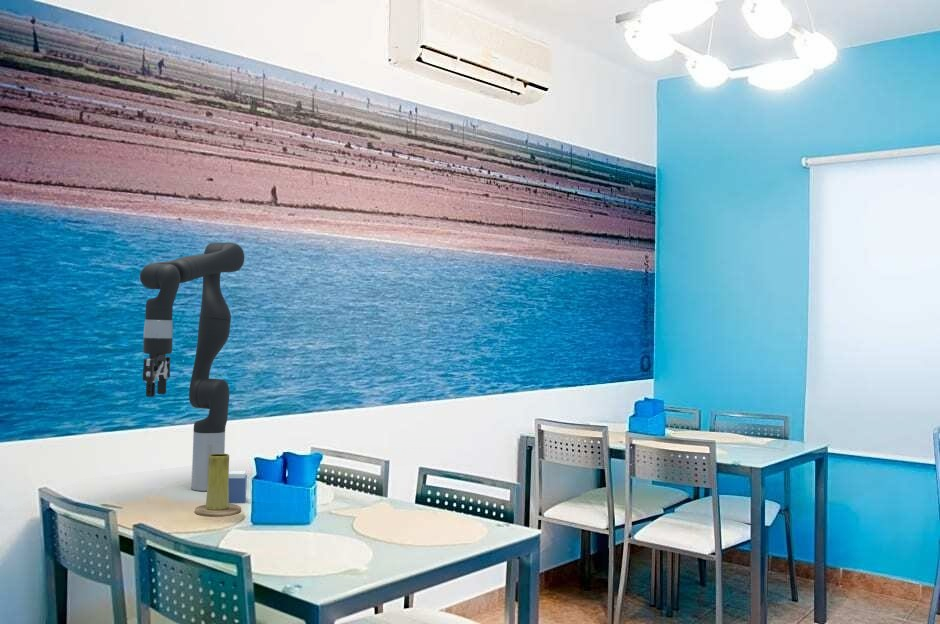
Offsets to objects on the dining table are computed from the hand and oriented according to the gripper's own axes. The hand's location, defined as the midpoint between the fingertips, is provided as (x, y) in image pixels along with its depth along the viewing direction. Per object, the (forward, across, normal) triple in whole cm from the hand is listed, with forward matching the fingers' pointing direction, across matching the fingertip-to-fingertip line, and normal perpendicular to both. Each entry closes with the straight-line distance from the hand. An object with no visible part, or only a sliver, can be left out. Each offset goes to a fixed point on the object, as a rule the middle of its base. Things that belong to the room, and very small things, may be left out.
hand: (156, 395), depth 235 cm
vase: (+29, -5, -19) cm, 36 cm away
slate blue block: (+30, +8, -21) cm, 38 cm away
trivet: (+30, -5, -20) cm, 36 cm away
